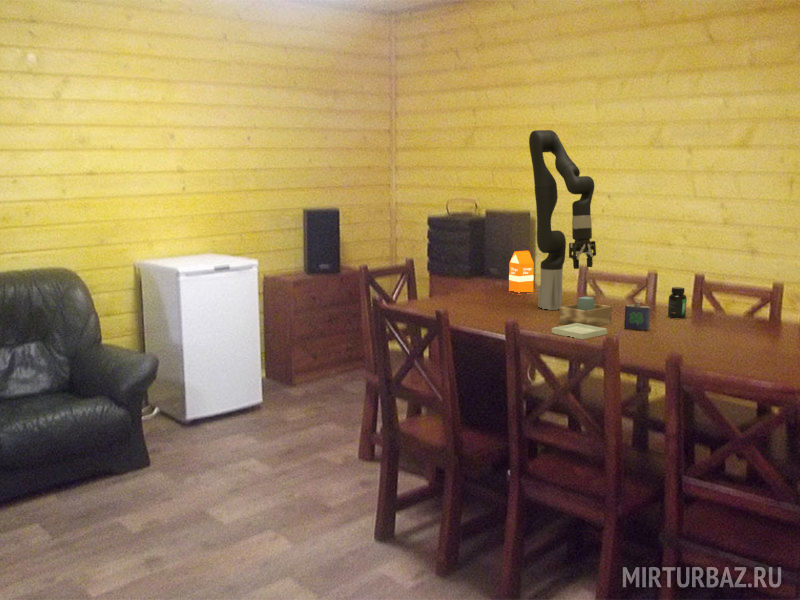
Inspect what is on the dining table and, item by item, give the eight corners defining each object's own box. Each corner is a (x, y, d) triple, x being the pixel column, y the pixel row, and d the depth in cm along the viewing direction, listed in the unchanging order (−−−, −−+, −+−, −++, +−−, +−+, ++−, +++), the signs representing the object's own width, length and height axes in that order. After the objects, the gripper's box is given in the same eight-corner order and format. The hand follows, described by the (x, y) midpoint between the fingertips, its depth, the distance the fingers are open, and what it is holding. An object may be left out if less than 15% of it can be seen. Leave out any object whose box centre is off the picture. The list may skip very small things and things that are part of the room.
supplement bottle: (688, 319, 324) (689, 289, 322) (671, 319, 324) (672, 289, 321) (682, 315, 330) (683, 286, 328) (665, 315, 330) (666, 286, 328)
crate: (559, 323, 317) (559, 306, 316) (585, 318, 326) (585, 302, 325) (585, 328, 307) (585, 311, 306) (611, 323, 317) (611, 306, 315)
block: (577, 318, 317) (577, 297, 315) (584, 316, 319) (585, 296, 318) (586, 319, 313) (587, 299, 312) (593, 318, 316) (594, 297, 315)
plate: (551, 333, 299) (551, 327, 299) (576, 328, 307) (576, 323, 307) (582, 339, 288) (582, 334, 288) (607, 334, 297) (607, 328, 296)
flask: (650, 330, 303) (651, 301, 302) (648, 331, 301) (649, 302, 299) (624, 328, 308) (625, 300, 306) (623, 329, 305) (624, 301, 303)
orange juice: (533, 292, 390) (534, 251, 387) (518, 294, 386) (519, 252, 382) (523, 290, 397) (523, 249, 393) (508, 292, 392) (509, 250, 389)
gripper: (585, 226, 330) (586, 266, 331) (562, 228, 321) (564, 269, 322) (600, 226, 324) (601, 266, 326) (578, 227, 315) (579, 269, 317)
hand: (583, 268), depth 324 cm, fingers open, 8 cm apart
